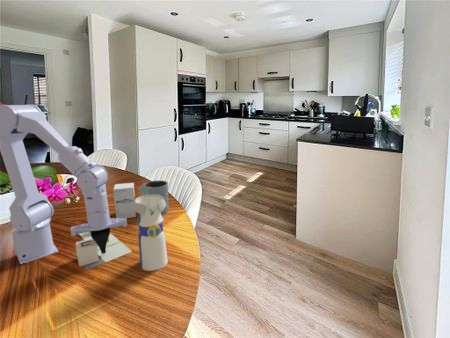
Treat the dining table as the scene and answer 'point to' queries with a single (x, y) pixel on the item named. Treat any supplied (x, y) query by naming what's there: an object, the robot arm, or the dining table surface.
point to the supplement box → (124, 200)
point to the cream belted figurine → (151, 230)
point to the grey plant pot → (159, 191)
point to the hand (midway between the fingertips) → (103, 252)
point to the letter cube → (86, 252)
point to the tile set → (112, 250)
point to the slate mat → (94, 263)
